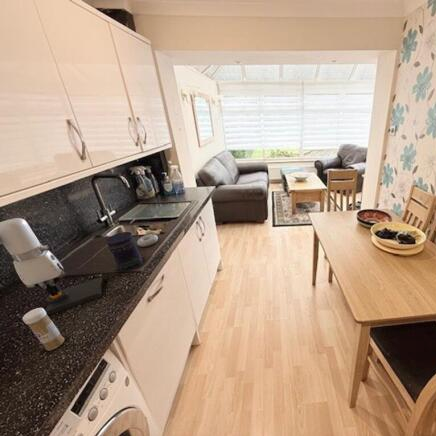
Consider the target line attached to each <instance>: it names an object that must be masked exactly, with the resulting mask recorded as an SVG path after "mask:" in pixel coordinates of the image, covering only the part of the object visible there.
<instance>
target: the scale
mask: <svg viewBox="0 0 436 436" xmlns="http://www.w3.org/2000/svg"><path fill="white" fill-rule="evenodd" d="M104 284H105V278H104V276H100V277H97V278H94V279H91V280H87V281H85V282H82V283H79V284H76V285H72V286H69V287H67V288H63V289H60V291H61V293H62V295H61V296H59V297H57V298H54V299H52V298H51V297H50V295H51V294H48V296H47V297H46V299H45V302H46V303H47V304H48V305H47V307H46V309H45V311H46V314H47V316H51V315H53V314H56V313H59V312H61V311H65V310H68V309H70V308H73V307H76V306H78V305H82V304H84V303H87V302H90V301H93V300H96V299H98V298H101V297H102V294H103V288H104Z"/></svg>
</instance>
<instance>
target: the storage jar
mask: <svg viewBox="0 0 436 436" xmlns="http://www.w3.org/2000/svg"><path fill="white" fill-rule="evenodd" d="M105 242H106V244H107V247H108V249H109V251H110V253H111V254H112V255H113V258H114V261H115V264H116V266H117V267H118V269H119V271H121V272H129V271H133V270H135V269H137V268H138V267H140V266H141V265H142V264H143V263H144V261H143V259H142V255H141V253H140V251H139V250H138V247H137V241H136V240H135V238H134V236H133V234H132V232H130V231H122V232H119V233H115V234H112V235H111V236H109V237H108V238H106V240H105Z"/></svg>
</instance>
